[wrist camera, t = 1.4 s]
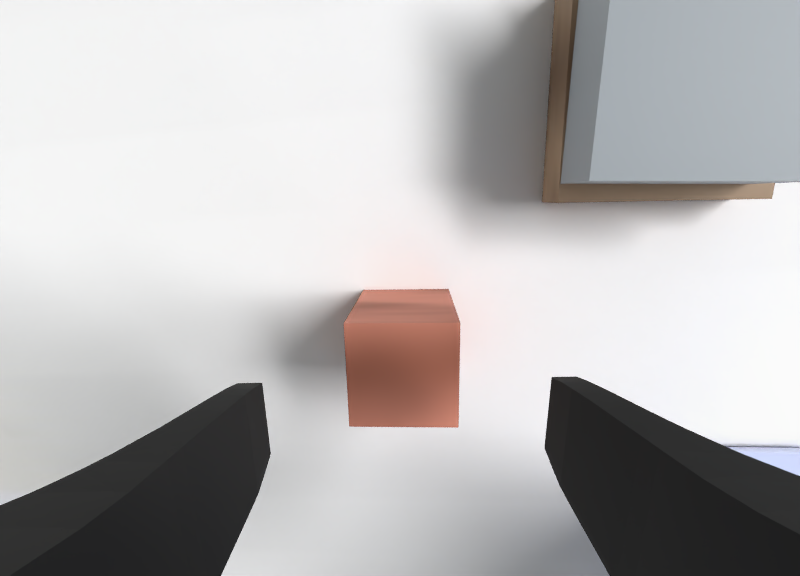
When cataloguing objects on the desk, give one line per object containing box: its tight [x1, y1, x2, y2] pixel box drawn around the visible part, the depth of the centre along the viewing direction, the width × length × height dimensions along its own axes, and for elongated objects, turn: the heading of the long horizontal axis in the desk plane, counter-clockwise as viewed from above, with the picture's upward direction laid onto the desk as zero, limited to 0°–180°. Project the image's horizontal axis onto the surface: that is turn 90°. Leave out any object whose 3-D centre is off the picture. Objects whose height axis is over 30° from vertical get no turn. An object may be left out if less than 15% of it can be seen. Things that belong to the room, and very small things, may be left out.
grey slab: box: [560, 0, 800, 184], centre depth 12 cm, size 7×7×2 cm
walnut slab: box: [542, 0, 775, 203], centre depth 15 cm, size 8×8×2 cm
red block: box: [344, 289, 460, 427], centre depth 16 cm, size 4×4×5 cm
